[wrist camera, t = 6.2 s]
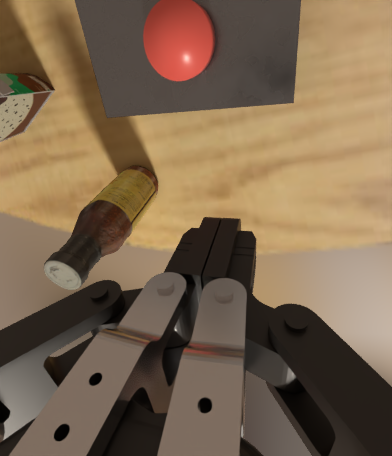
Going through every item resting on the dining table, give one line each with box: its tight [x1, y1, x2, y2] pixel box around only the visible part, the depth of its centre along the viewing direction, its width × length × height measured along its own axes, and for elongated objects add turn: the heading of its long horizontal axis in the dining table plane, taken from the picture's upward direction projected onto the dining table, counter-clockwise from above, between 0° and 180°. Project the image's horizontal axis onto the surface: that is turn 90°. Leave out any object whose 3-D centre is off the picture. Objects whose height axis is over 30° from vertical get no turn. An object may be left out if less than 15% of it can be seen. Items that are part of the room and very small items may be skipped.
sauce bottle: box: [44, 166, 158, 290], centre depth 34 cm, size 7×6×20 cm
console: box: [75, 0, 301, 118], centre depth 28 cm, size 20×12×6 cm, turn 97°
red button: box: [143, 0, 215, 81], centre depth 26 cm, size 6×6×7 cm
